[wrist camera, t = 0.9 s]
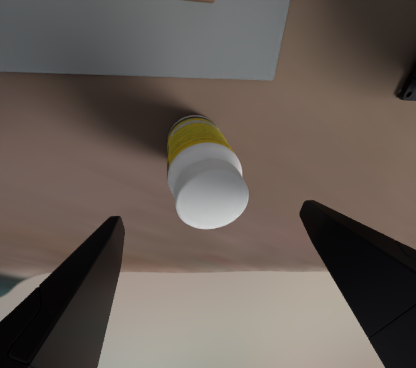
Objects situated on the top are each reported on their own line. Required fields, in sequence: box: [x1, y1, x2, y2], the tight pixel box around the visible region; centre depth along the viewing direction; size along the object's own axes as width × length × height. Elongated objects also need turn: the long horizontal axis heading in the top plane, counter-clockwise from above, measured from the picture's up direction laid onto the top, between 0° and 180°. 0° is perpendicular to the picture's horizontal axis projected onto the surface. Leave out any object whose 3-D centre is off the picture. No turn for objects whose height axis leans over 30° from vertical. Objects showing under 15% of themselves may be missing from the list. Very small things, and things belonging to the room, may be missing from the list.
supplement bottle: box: [167, 115, 249, 229], centre depth 13 cm, size 5×5×8 cm
